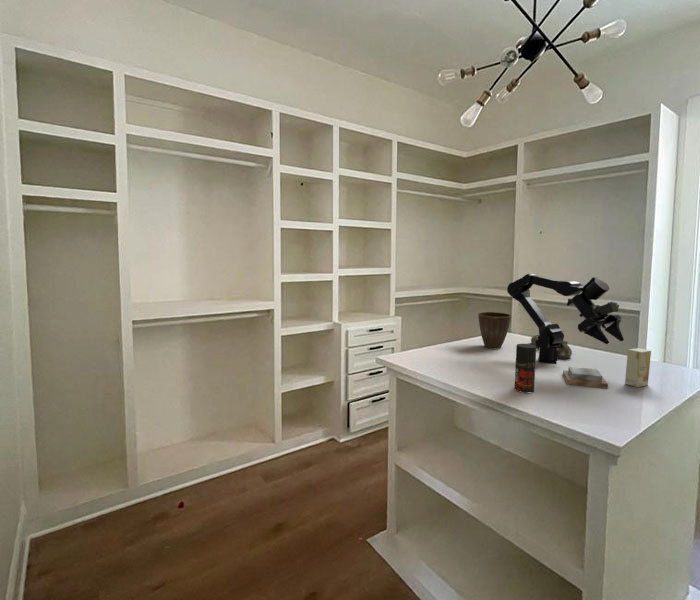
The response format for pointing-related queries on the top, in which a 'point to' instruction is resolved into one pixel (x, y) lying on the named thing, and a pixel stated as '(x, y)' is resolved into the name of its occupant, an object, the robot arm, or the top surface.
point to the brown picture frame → (584, 377)
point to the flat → (563, 349)
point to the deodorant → (525, 367)
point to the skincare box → (637, 367)
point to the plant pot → (494, 328)
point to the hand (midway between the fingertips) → (615, 342)
